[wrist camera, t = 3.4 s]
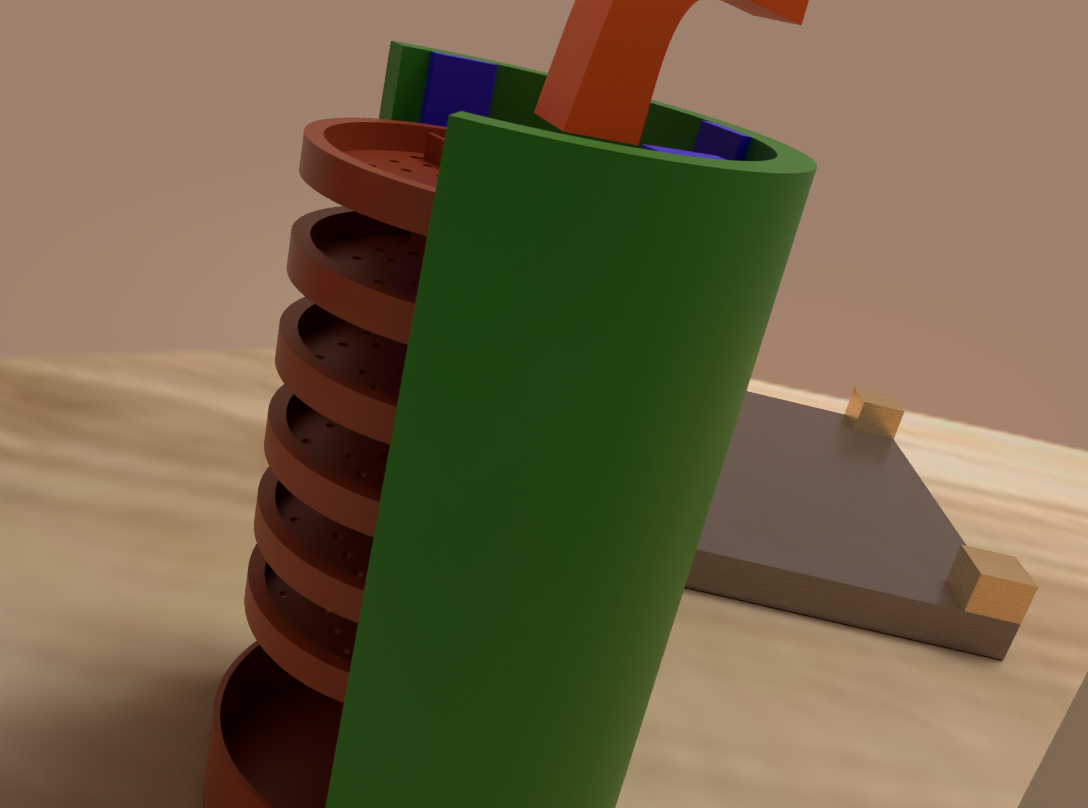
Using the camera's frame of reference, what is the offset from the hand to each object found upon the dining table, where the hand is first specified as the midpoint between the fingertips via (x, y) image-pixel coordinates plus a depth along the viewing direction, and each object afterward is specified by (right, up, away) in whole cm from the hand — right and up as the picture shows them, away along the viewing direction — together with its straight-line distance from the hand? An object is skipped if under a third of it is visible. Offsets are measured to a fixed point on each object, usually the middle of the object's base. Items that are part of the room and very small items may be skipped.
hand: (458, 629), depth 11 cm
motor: (-2, -7, +13) cm, 15 cm away
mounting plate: (+8, -1, +33) cm, 34 cm away
